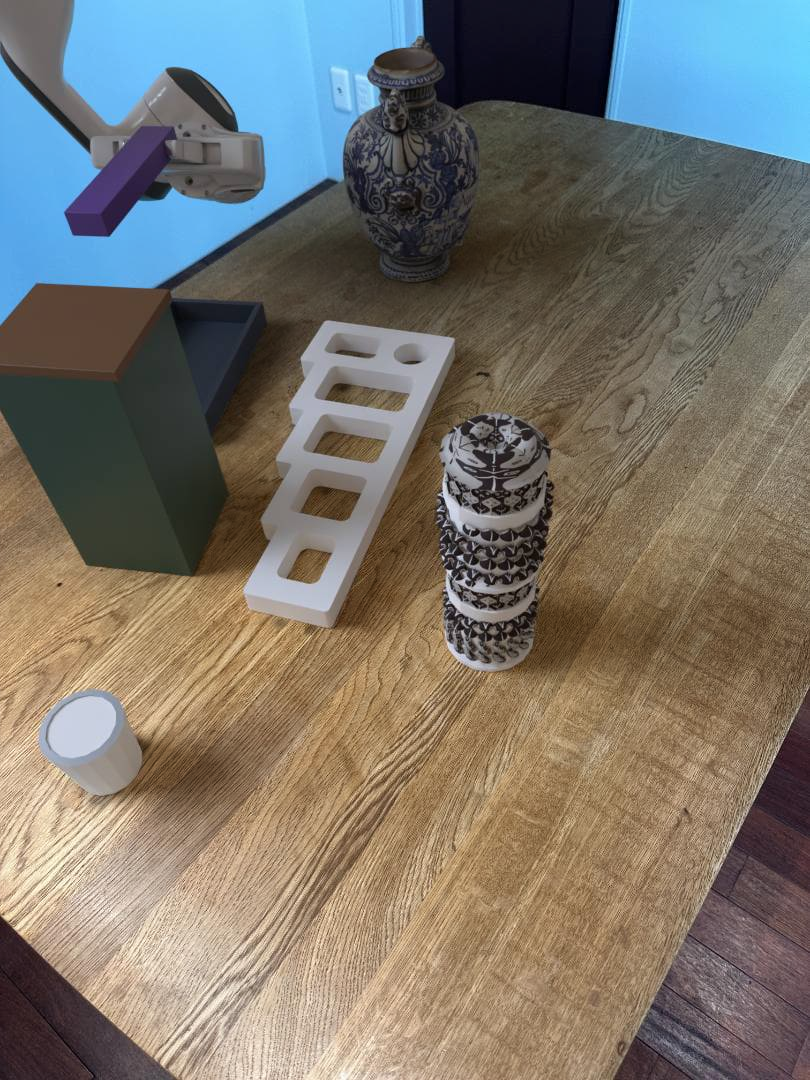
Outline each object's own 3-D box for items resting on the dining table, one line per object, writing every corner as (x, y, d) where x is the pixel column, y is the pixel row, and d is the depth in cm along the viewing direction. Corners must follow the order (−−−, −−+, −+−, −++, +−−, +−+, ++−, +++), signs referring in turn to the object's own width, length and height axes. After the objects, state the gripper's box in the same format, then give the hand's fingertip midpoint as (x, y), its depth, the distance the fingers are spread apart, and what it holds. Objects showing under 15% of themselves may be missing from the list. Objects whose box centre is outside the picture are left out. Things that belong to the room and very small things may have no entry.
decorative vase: (468, 307, 113) (469, 92, 92) (339, 300, 116) (311, 90, 95) (485, 230, 127) (489, 27, 106) (370, 226, 130) (351, 28, 109)
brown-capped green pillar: (81, 564, 86) (-33, 362, 66) (126, 484, 93) (36, 282, 74) (197, 577, 84) (115, 372, 64) (233, 494, 91) (169, 288, 72)
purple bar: (72, 236, 81) (63, 212, 79) (147, 148, 94) (141, 125, 92) (109, 237, 81) (100, 213, 79) (180, 148, 93) (174, 126, 92)
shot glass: (140, 801, 68) (113, 764, 63) (60, 804, 68) (26, 767, 63) (156, 727, 72) (132, 686, 67) (81, 730, 73) (50, 689, 67)
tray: (101, 439, 99) (91, 416, 96) (175, 319, 115) (169, 297, 113) (206, 447, 97) (199, 425, 94) (267, 324, 113) (262, 302, 111)
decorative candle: (558, 632, 77) (588, 431, 58) (493, 694, 73) (502, 500, 54) (486, 580, 81) (492, 378, 62) (421, 635, 77) (406, 438, 58)
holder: (331, 629, 78) (327, 612, 76) (167, 590, 83) (159, 573, 81) (455, 355, 106) (455, 338, 104) (327, 337, 110) (325, 320, 108)
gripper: (121, 133, 104) (58, 115, 91) (274, 135, 100) (232, 116, 87) (125, 187, 106) (64, 176, 93) (275, 190, 102) (234, 180, 90)
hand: (147, 147), depth 90 cm, fingers closed on purple bar, 4 cm apart
